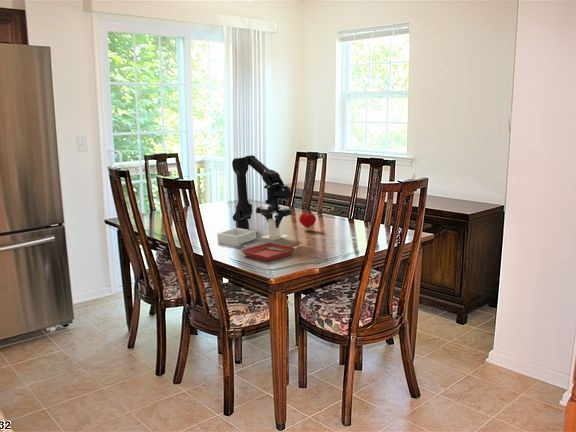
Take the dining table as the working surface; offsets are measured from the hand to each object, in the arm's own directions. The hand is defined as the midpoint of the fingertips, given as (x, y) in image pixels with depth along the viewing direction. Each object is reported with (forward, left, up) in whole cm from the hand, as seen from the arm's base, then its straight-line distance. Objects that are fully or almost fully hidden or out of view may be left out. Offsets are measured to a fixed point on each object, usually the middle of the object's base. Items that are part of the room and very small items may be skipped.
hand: (273, 227), depth 286 cm
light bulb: (+7, +20, -6) cm, 22 cm away
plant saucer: (+17, -26, -6) cm, 32 cm away
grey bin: (-12, -15, -6) cm, 20 cm away
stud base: (0, 0, -6) cm, 6 cm away
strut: (0, 0, -4) cm, 4 cm away
